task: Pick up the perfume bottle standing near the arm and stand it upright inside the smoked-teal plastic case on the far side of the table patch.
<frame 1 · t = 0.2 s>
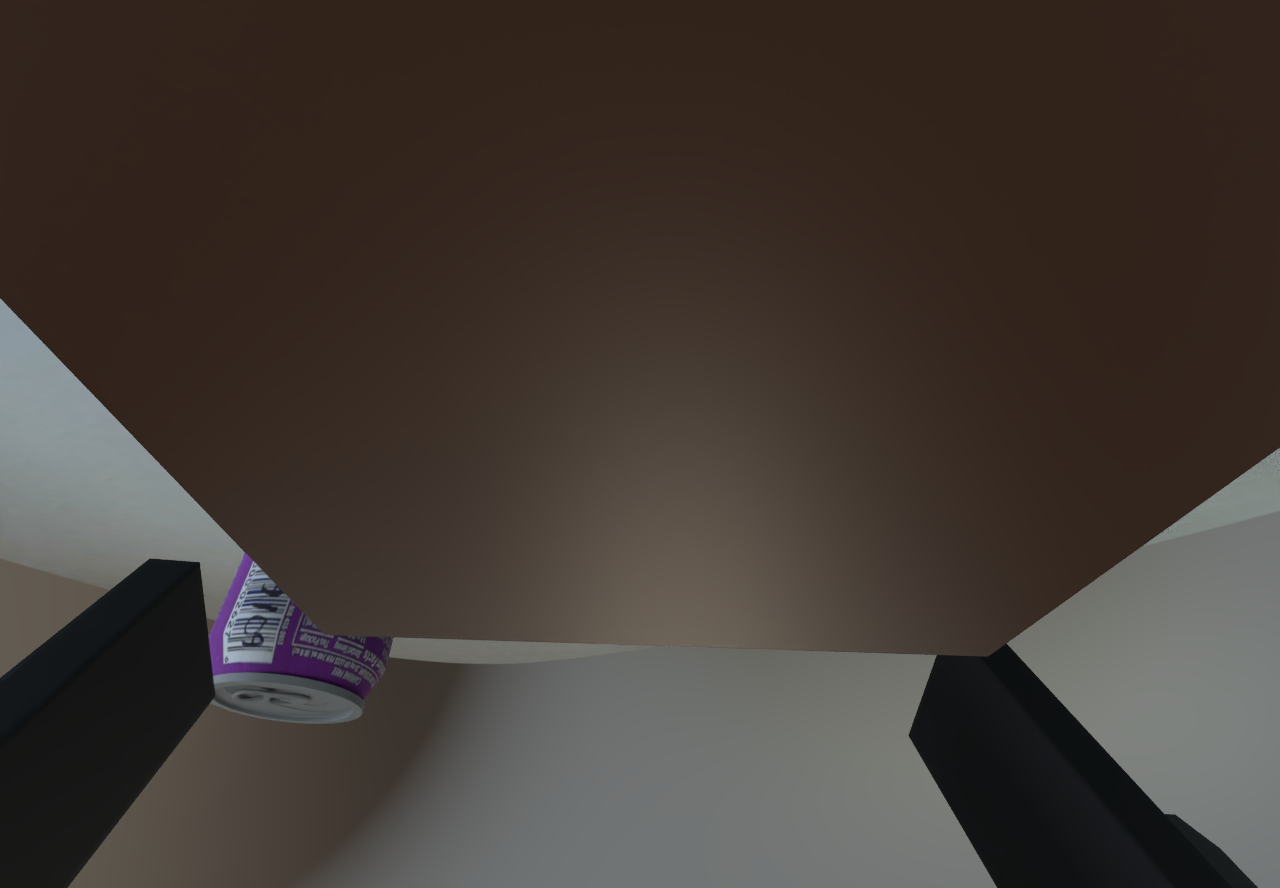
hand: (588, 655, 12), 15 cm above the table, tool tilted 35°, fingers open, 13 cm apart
beverage can: (365, 463, 34), on the table
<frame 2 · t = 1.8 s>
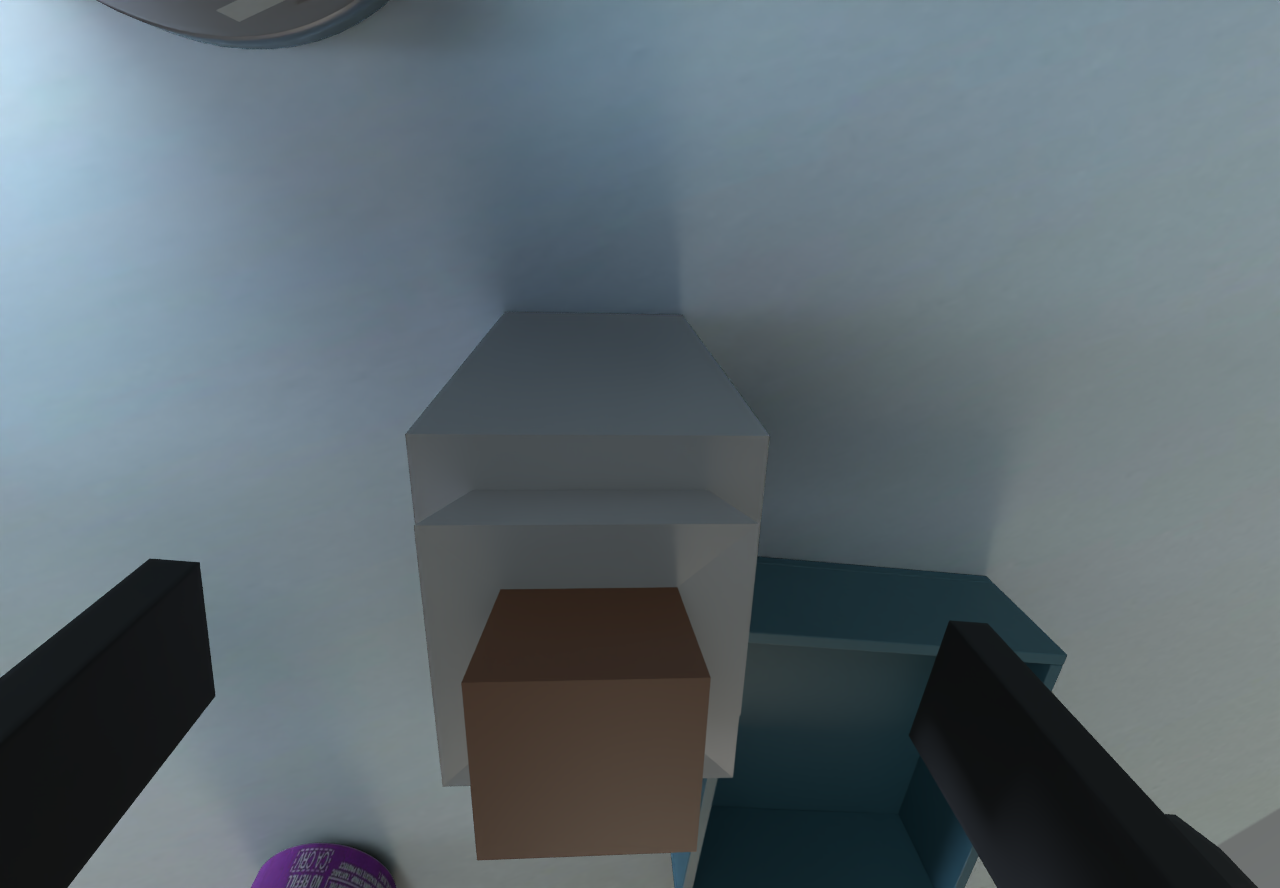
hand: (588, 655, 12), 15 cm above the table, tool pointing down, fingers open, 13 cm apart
beverage can: (334, 873, 34), on the table
case: (815, 694, 32), on the table
perfume bottle: (594, 396, 26), on the table
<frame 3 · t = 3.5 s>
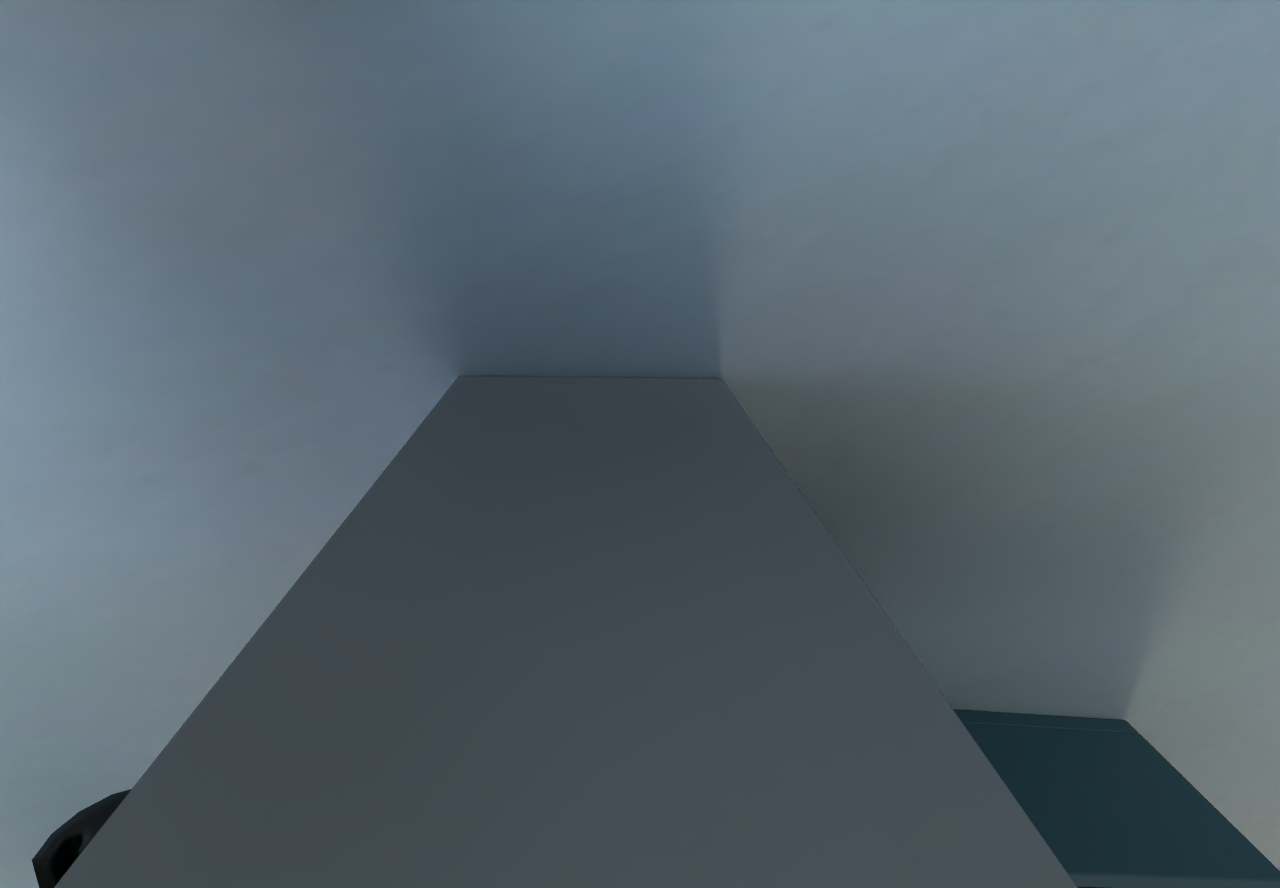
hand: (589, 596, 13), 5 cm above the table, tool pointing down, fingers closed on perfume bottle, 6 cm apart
case: (888, 868, 24), on the table
perfume bottle: (591, 493, 18), on the table, touching gripper
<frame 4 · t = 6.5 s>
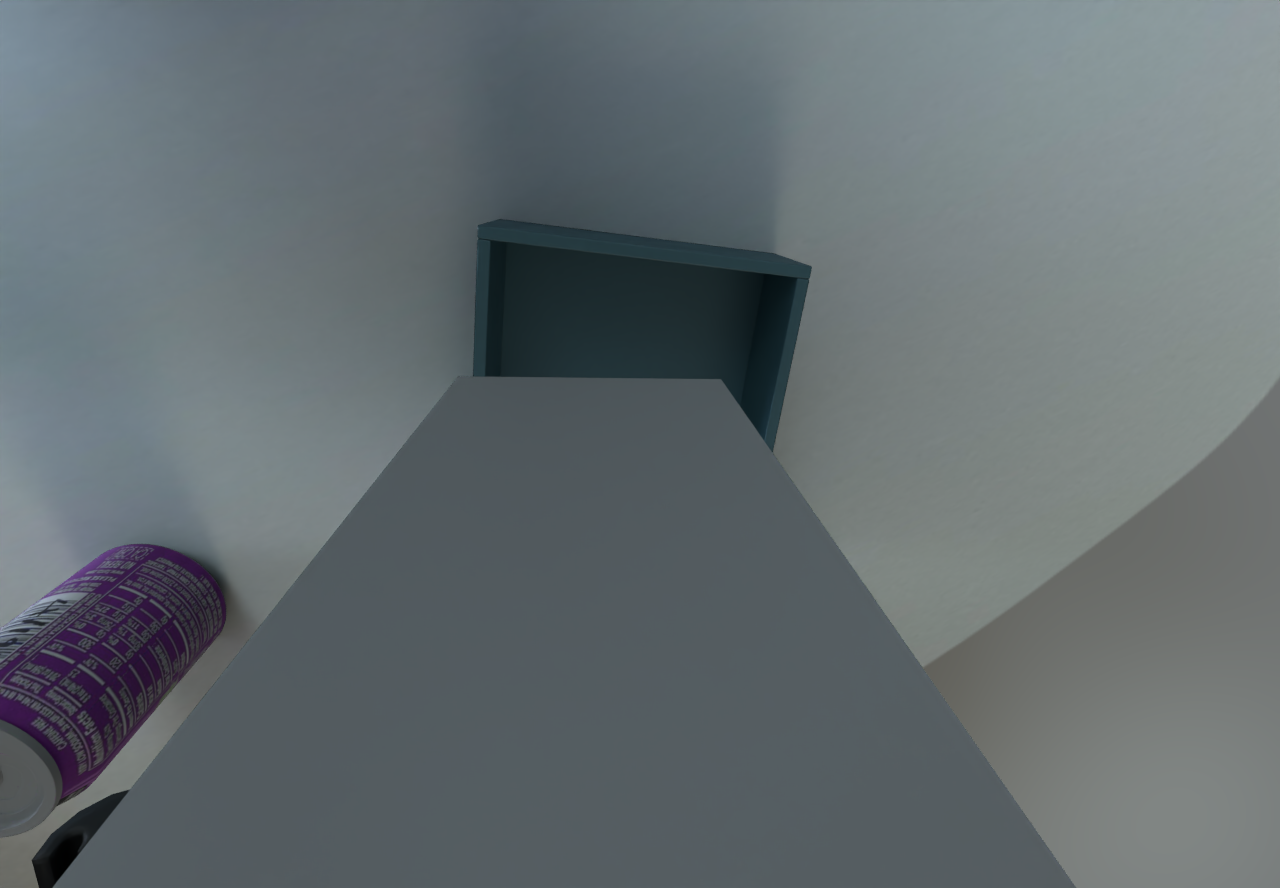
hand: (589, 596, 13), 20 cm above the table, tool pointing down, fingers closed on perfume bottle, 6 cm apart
beverage can: (167, 591, 35), on the table
case: (622, 390, 33), on the table
perfume bottle: (591, 493, 18), point 15 cm above the table, touching gripper
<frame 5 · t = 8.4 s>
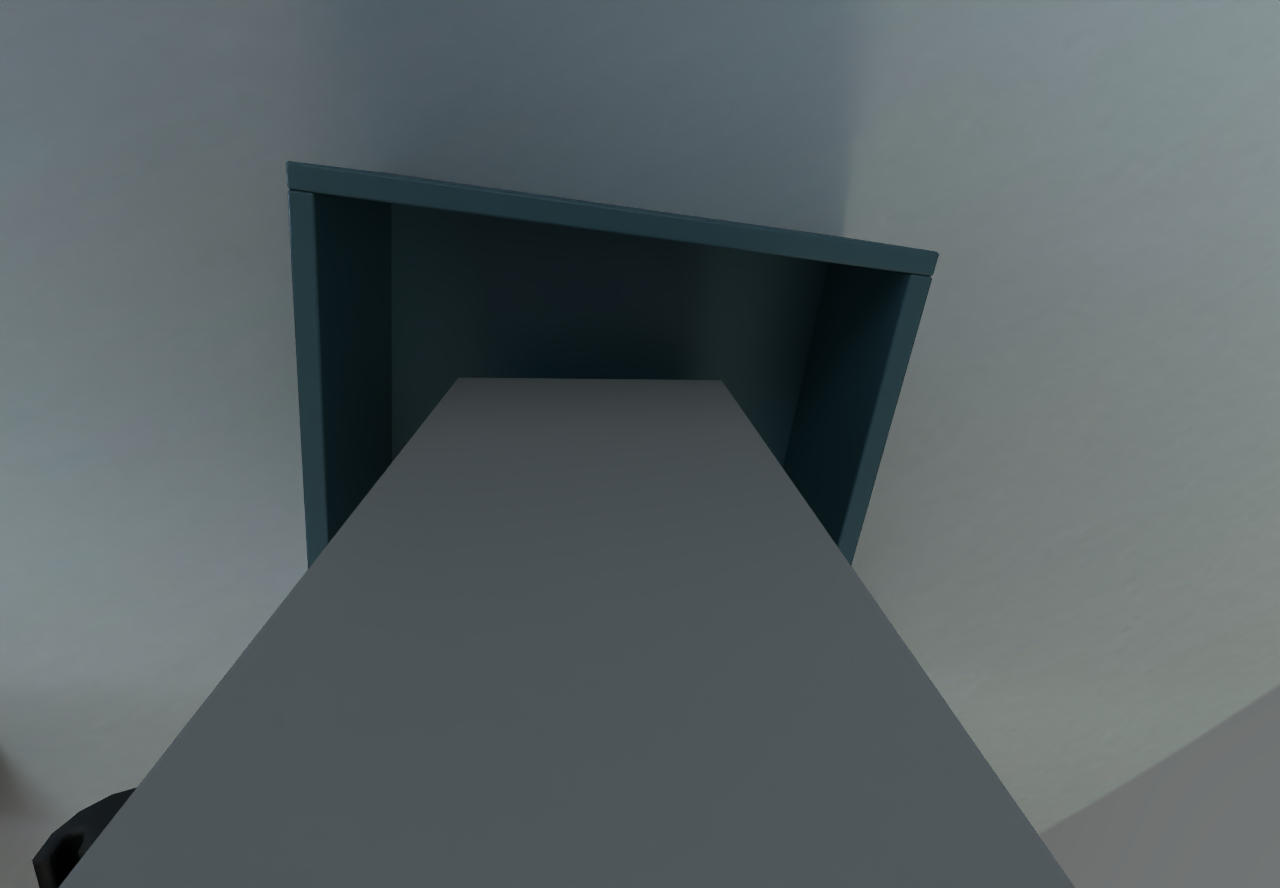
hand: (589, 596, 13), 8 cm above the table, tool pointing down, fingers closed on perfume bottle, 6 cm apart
case: (592, 455, 20), on the table
perfume bottle: (591, 494, 18), point 3 cm above the table, touching gripper
when the fingers open (5 cm above the table, at t = 9.5 s): perfume bottle stays where it is, resting on case.
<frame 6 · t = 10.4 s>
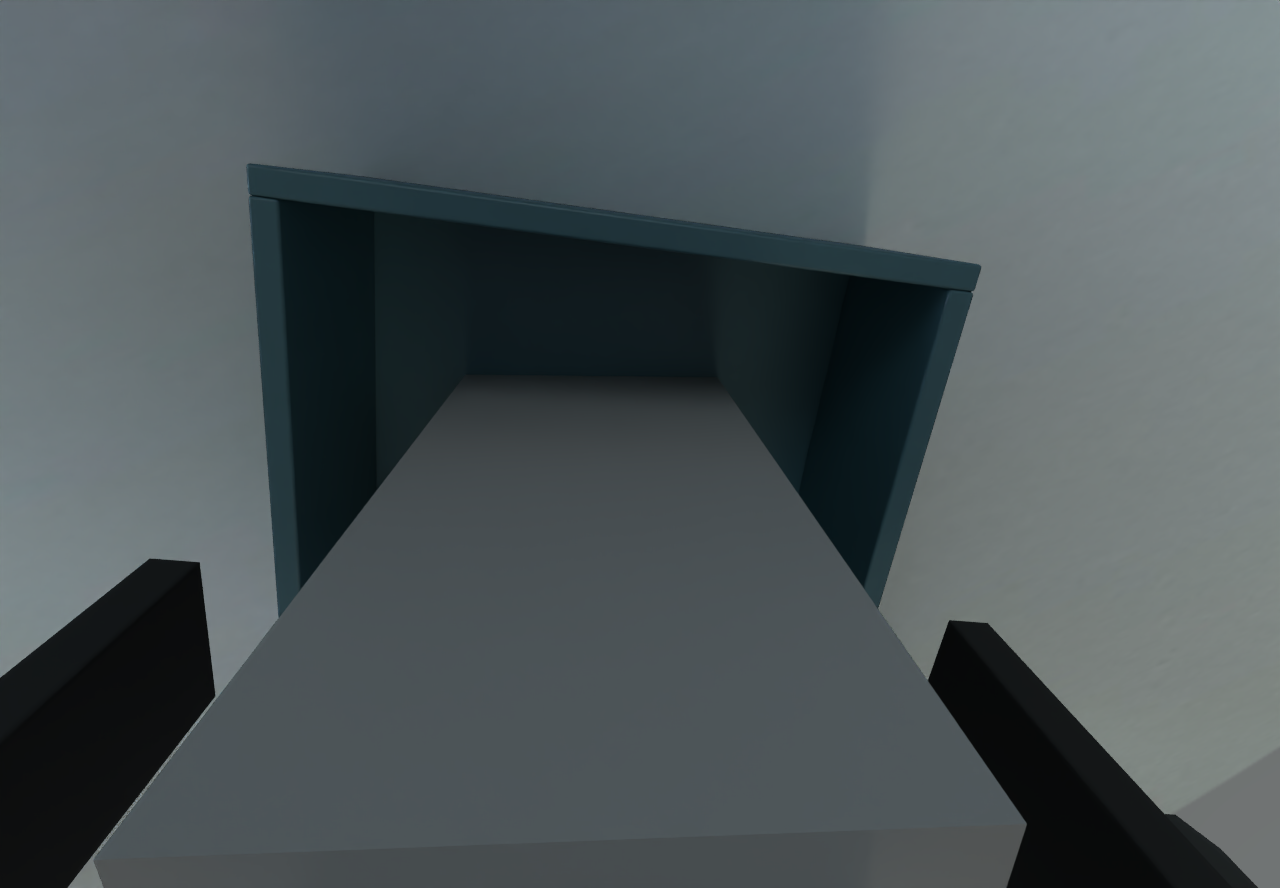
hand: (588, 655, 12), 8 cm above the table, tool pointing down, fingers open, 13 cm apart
case: (592, 479, 19), on the table
perfume bottle: (592, 487, 19), resting on case
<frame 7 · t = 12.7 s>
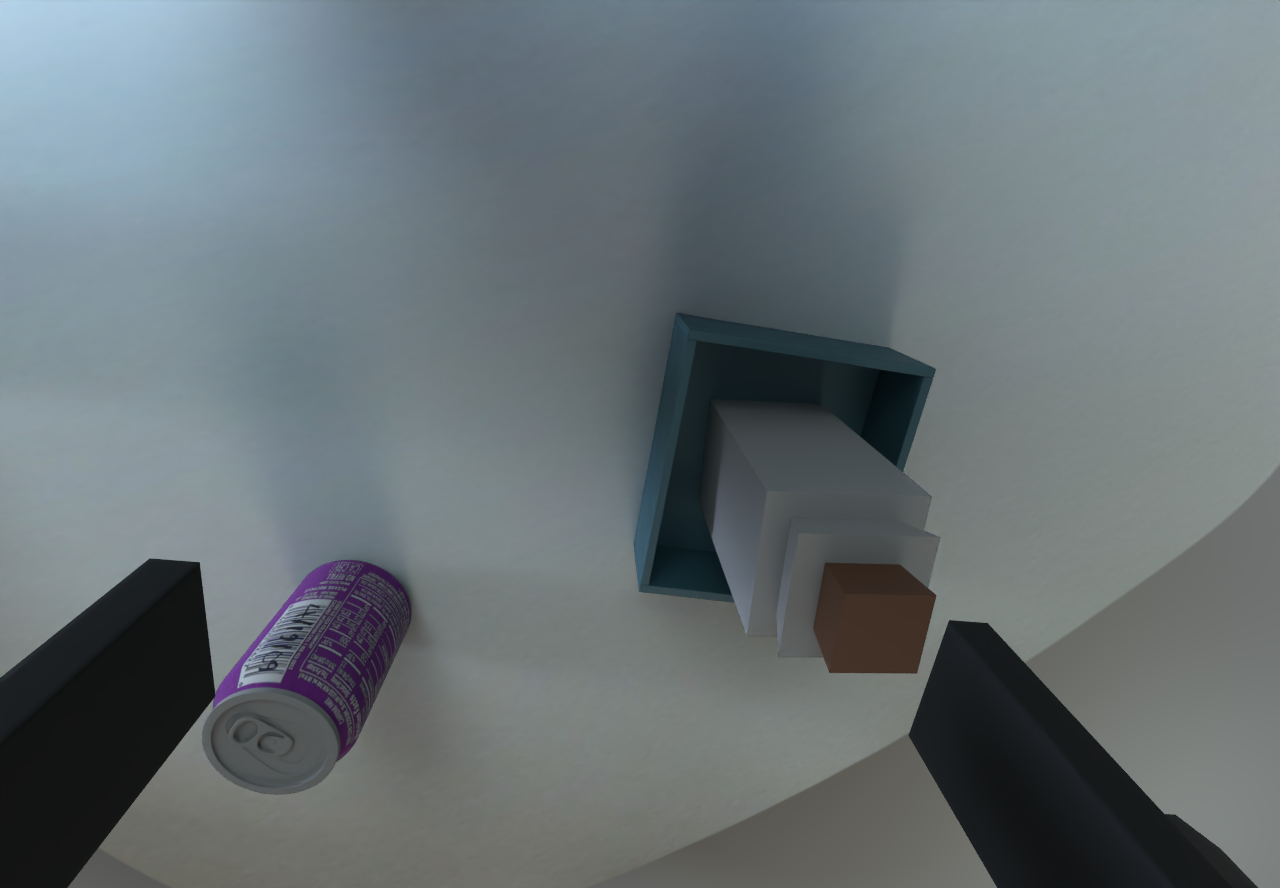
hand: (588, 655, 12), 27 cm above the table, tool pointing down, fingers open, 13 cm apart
beverage can: (359, 600, 42), on the table
case: (756, 450, 40), on the table
perfume bottle: (757, 453, 40), resting on case
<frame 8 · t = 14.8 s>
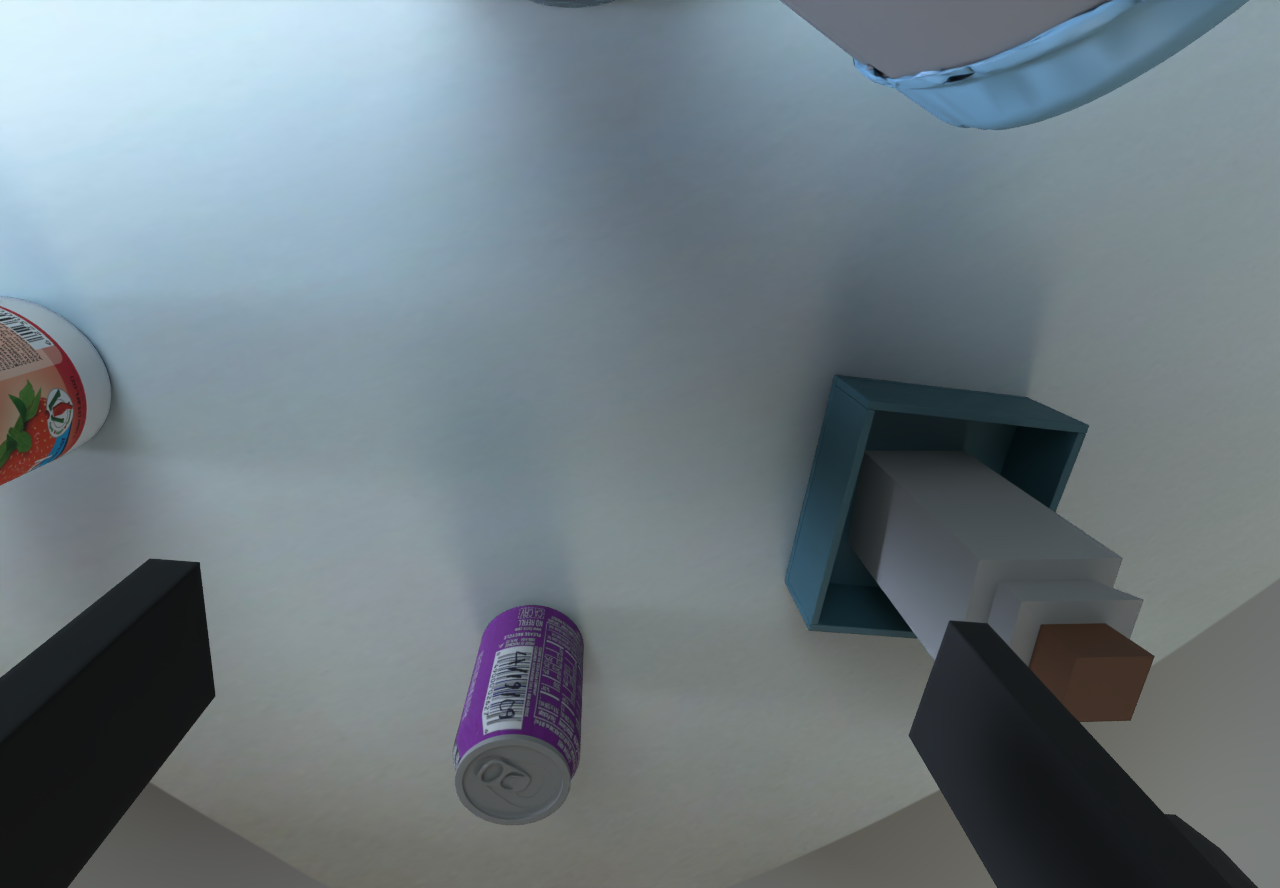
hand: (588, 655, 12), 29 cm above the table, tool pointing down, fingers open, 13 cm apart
beverage can: (533, 639, 46), on the table
case: (900, 493, 43), on the table
fruit juice: (32, 374, 37), on the table
perfume bottle: (903, 496, 43), resting on case
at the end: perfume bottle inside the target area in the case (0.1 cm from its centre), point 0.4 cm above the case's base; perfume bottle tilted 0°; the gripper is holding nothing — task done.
